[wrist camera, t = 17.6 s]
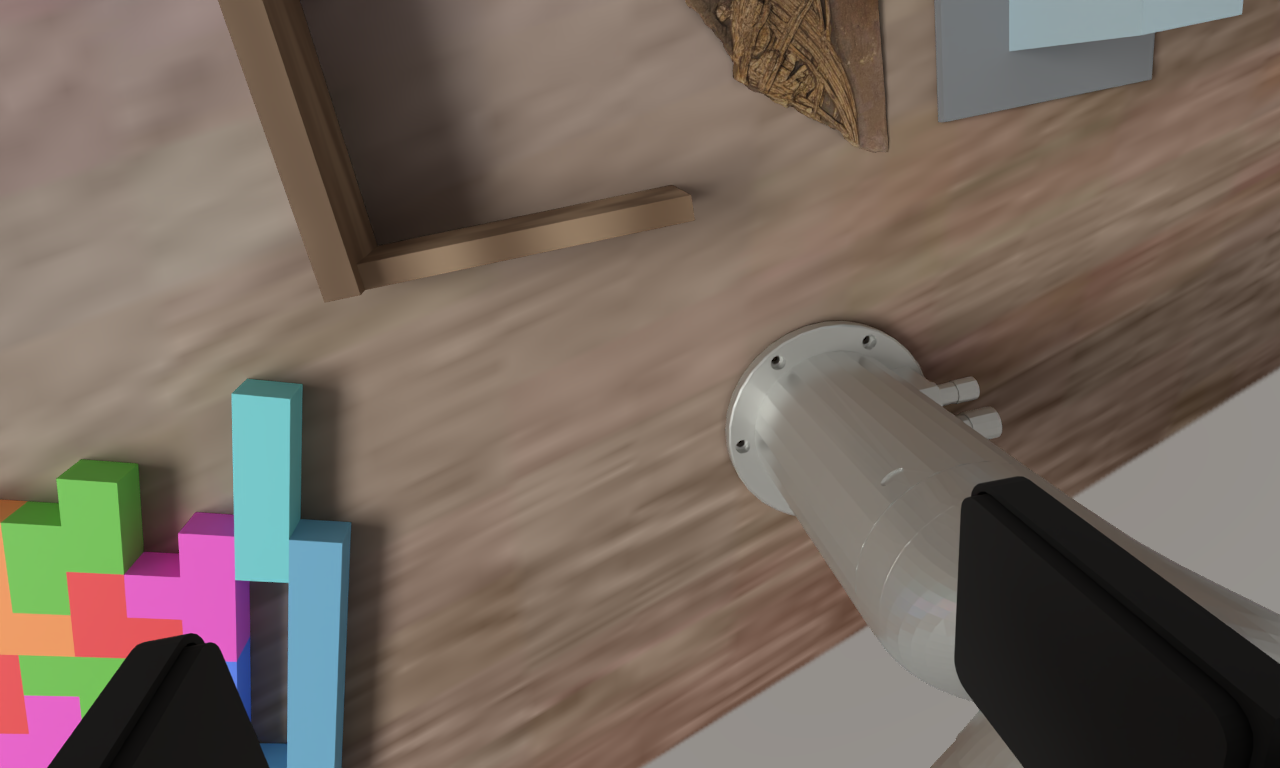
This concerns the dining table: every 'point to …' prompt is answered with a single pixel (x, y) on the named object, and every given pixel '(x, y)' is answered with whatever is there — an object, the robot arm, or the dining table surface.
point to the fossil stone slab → (809, 59)
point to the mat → (1021, 62)
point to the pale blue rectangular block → (1105, 19)
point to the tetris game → (172, 589)
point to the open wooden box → (330, 196)
